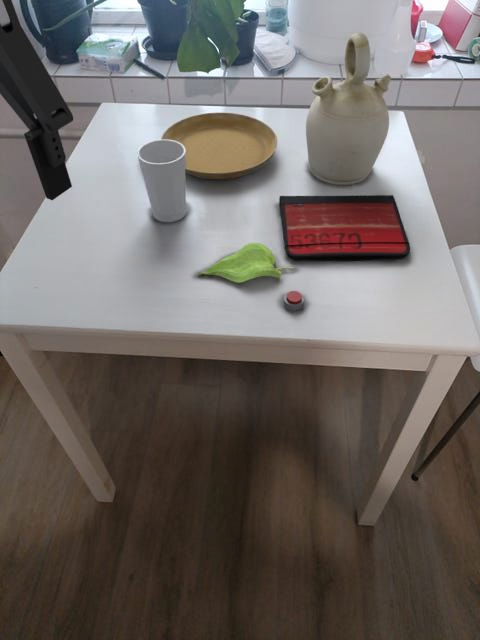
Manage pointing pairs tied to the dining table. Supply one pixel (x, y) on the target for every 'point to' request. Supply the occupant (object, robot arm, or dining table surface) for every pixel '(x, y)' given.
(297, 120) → the dining table surface
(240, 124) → the plant saucer
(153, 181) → the cup
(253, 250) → the leaf
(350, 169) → the jug
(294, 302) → the push button
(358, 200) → the notebook
